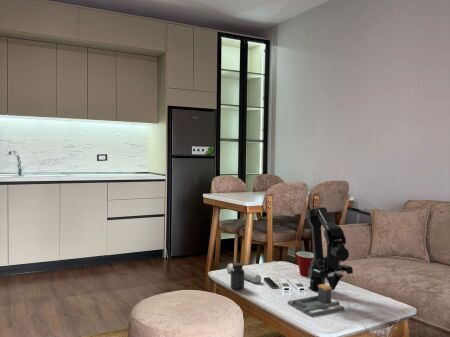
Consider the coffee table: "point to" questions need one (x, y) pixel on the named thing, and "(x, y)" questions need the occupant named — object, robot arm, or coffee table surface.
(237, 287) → the supplement bottle
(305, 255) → the plastic cup
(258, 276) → the tube
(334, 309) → the panel
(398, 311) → the coffee table surface
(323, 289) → the handle
